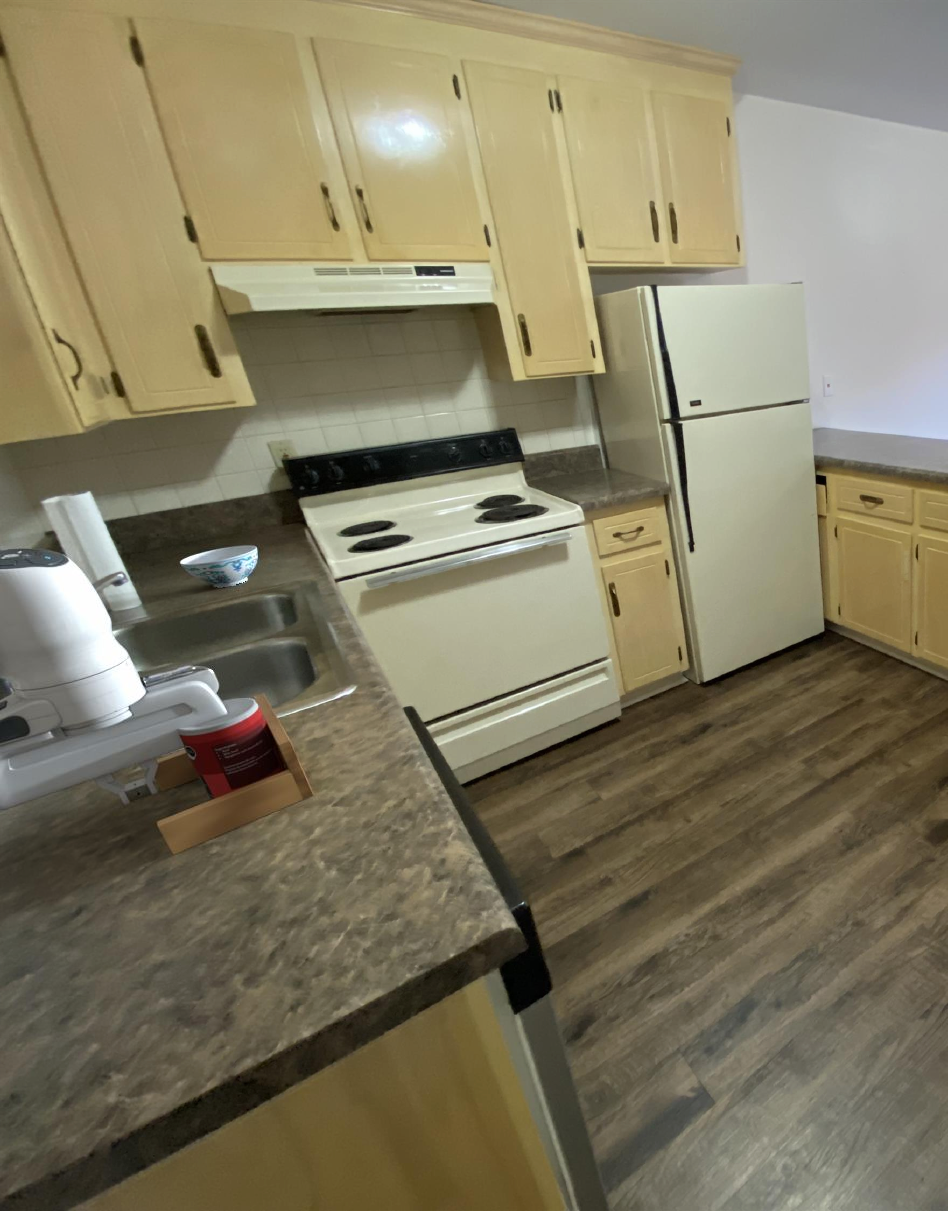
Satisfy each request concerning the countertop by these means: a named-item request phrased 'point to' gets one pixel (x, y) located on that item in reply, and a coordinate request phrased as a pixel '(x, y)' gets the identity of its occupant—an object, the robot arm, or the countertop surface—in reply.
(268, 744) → the canned food
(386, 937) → the countertop surface
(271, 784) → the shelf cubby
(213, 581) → the chinaware
